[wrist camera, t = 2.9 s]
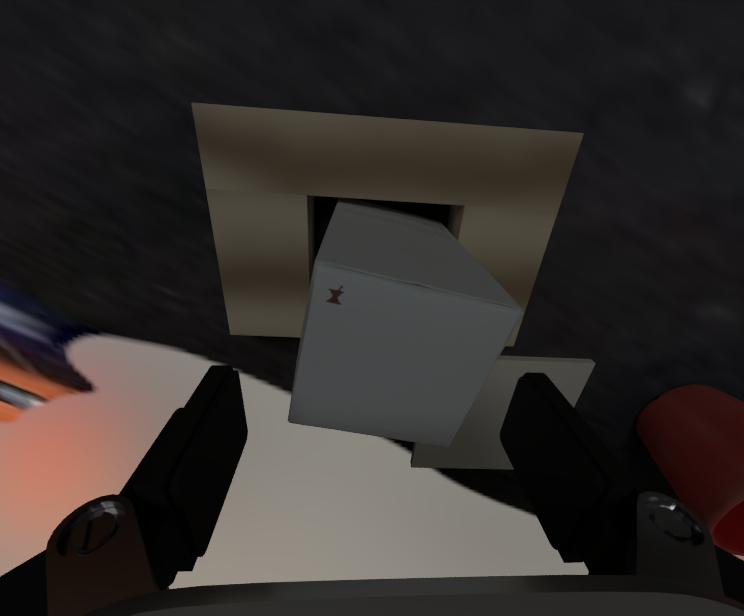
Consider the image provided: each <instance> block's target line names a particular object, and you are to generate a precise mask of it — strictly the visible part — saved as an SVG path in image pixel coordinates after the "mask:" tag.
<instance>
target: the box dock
mask: <svg viewBox="0 0 744 616" xmlns="http://www.w3.org/2000/svg"><path fill="white" fill-rule="evenodd" d="M192 109H193V115H194V121H195V127H196V133H197V139H198V145H199V151H200V157H201V163H202V169H203V175H204V181H205V187H206V192H207V198H208V204H209V210H210V216H211V222H212V228H213V234H214V240H215V246H216V252H217V258H218V264H219V270H220V276H221V282H222V288H223V293H224V299H225V305H226V311H227V317H228V323H229V329H230V335H253V336H277V337H301V333H302V327H303V321H304V316H305V311H306V305H307V299H308V294H309V289H310V283H311V278H312V273H313V267H314V263H315V209H314V196H325V197H341V198H356V199H372V200H387V201H403V202H418V203H434V204H449V205H451V207H450V212H449V218H448V224H447V230H448V231H449V232H450V233H451V234H452V235H453V236H454V237H455V238H456V239H457V240H458V241H459V242H460V244H461V245H462V246H463V247H464V248H465V249H466V250H467V251H468V252H469V253H470V254H471V255H472V256H473V257H474V258H475V259H476V260H477V261H478V262H479V263H480V264H481V265H482V266H483V267H484V268H485V270H486V271H487V272H488V273H489V274H490V275H491V276H492V277H493V278H494V279H495V280H496V281H497V282H498V283H499V284H500V285H501V286H502V287H503V288H504V289H505V290H506V292H507V293H508V294H509V295H510V296H511V297H512V298H513V299H514V300H515V301H516V302H517V304H518V305H519V306H520V307H521V308H522V309H523V310H524V312H525V309H526V306H527V303H528V300H529V297H530V294H531V291H532V288H533V285H534V282H535V279H536V276H537V273H538V270H539V267H540V264H541V261H542V258H543V255H544V252H545V249H546V246H547V243H548V240H549V237H550V234H551V231H552V228H553V225H554V222H555V219H556V216H557V213H558V210H559V206H560V203H561V200H562V197H563V194H564V191H565V188H566V185H567V182H568V179H569V176H570V173H571V170H572V167H573V164H574V161H575V158H576V155H577V152H578V149H579V146H580V143H581V140H582V137H583V134H584V133H573V132H560V131H547V130H535V129H522V128H509V127H496V126H483V125H471V124H458V123H445V122H432V121H419V120H407V119H394V118H381V117H368V116H355V115H343V114H330V113H317V112H304V111H291V110H279V109H266V108H253V107H240V106H227V105H214V104H202V103H192ZM523 316H524V314H523ZM523 316H522V318H521V320H520V321H519V323H518V324H517V326H516V328H515V330H514V331H513V333H512V335H511V337H510V338H509V340H508V342H507V344H506V345H505V346H514V343H515V340H516V337H517V334H518V331H519V328H520V325H521V322H522V319H523Z"/></svg>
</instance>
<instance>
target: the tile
mask: <svg viewBox="0 0 744 616" xmlns="http://www.w3.org/2000/svg"><path fill="white" fill-rule="evenodd" d="M594 365H595V363H594V362H593V361H592V360H591V359H574V358H549V357H523V356H499V357H498V359H497V361H496V362H495V364H494V366H493V367H492V369H491V371H490V372H489V374H488V376H487V378H486V379H485V381H484V383H483V385H482V387H481V389H480V391H479V393H478V394H477V396H476V398H475V400H474V402H473V404H472V405H471V407H470V409H469V411H468V413H467V414H466V416H465V418H464V420H463V422H462V424H461V425H460V427H459V429H458V431H457V433H456V434H455V436H454V438H453V440H452V442H451V443H450V445H449V447H440V446H434V445H428V444H422V443H416V442H414V446H413V451H412V457H411V467H420V468H422V467H423V468H468V469H513V467H512V464H511V462H510V460H509V458H508V456H507V454H506V452H505V450H504V448H503V446H502V444H501V441H500V430H501V427H502V424H503V421H504V419H505V416H506V413H507V410H508V407H509V404H510V401H511V398H512V396H513V393H514V390H515V387H516V384H517V381H518V379H519V378H520V377H523V375H524V374H525V373H527V372H531V373H545V374H546V375H547V376H548V377H549V379H550V380H551V381H552V382H553V383H554V385H555V386H556V387H557V388H558V389H559V391H560V392H561V393H562V394H563V395H564V397H565V398H566V399H567V400H568V401H569V403H570V404H571V405H572V406H573V408H574V406H575V404H576V402H577V400H578V398H579V396H580V394H581V392H582V390H583V388H584V386H585V384H586V382H587V380H588V378H589V376H590V374H591V371H592V369H593V367H594Z"/></svg>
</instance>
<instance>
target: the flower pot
mask: <svg viewBox="0 0 744 616" xmlns="http://www.w3.org/2000/svg"><path fill="white" fill-rule="evenodd" d="M636 430H637V433H638V435H639V436H640V438H641V440H642V441H643V443H644V444H645V446H646V448H647V449H648V451H649V452H650V454H651V456H652V457H653V459H654V460H655V462H656V464H657V465H658V467H659V468H660V470H661V471H662V473H663V475H664V476H665V478H666V479H667V481H668V482H669V484H670V485H671V487H672V488H673V490H674V491H675V493H676V494H677V496H678V497H679V499H680V500H681V502H682V503H683V505H684V506H686V507H687V508H688V509H690V510H691V511H692V512H693V513H694V514H695V515H696V516H697V517H698V518H699V519H700V520H701V521H702V522H703V523H704V524H705V526H706V527H707V529H708V530H709V531H710V534H711V536H712V539H713V542H714V544H715V545H717V546H718V547H720V548H722V549H724V550H725V551H727V552H729V553H731V554H734V555H741V556H744V402H743V401H740V400H738V399H736V398H734V397H732V396H730V395H728V394H726V393H724V392H722V391H719V390H717V389H715V388H713V387H711V386H707V385H701V384H691V385H684V386H680V387H677V388H673V389H671V390H668V391H666V392H664V393H662V394H661V395H660V396H659V397H658V398H657V399H654V400H652V401H650V402H649V403H648V404H647V405H646V406H645V407H644V408H643V409H642V410H641V412H640V413H639V415H638V417H637V420H636Z"/></svg>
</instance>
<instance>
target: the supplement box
mask: <svg viewBox="0 0 744 616" xmlns="http://www.w3.org/2000/svg"><path fill="white" fill-rule="evenodd" d="M523 314H524V310H523V309H522V308H521V307H520V306H519V305H518V304H517V302H516V301H515V300H514V299H513V298H512V297H511V296H510V295H509V294H508V293H507V292H506V290H505V289H504V288H503V287H502V286H501V285H500V284H499V283H498V282H497V281H496V280H495V279H494V278H493V277H492V276H491V275H490V274H489V273H488V272H487V271H486V270H485V268H484V267H483V266H482V265H481V264H480V263H479V262H478V261H477V260H476V259H475V258H474V257H473V256H472V255H471V254H470V253H469V252H468V251H467V250H466V249H465V248H464V247H463V246H462V245H461V244H460V242H459V241H458V240H457V239H456V238H455V237H454V236H453V235H452V234H451V233H450V232H449V231H448V230H447V229H446V228H445V226H444V225H443V224H442V223H441V222H439V221H435V220H432V219H429V218H425V217H422V216H418V215H415V214H411V213H407V212H404V211H400V210H396V209H392V208H388V207H385V206H381V205H377V204H373V203H370V202H366V201H362V200H358V199H354V198H341V197H339V199H338V202H337V205H336V207H335V210H334V212H333V215H332V218H331V220H330V223H329V225H328V228H327V231H326V233H325V236H324V239H323V241H322V244H321V246H320V249H319V252H318V254H317V256H316V259H315V263H314V267H313V273H312V278H311V283H310V289H309V294H308V299H307V305H306V311H305V316H304V321H303V327H302V333H301V339H300V345H299V351H298V357H297V363H296V370H295V377H294V383H293V390H292V397H291V403H290V410H289V416H288V421H289V422H290V423H295V424H301V425H308V426H315V427H322V428H328V429H336V430H341V431H348V432H354V433H360V434H366V435H373V436H379V437H385V438H391V439H398V440H404V441H410V442H416V443H422V444H428V445H434V446H440V447H449V445H450V443H451V442H452V440H453V438H454V436H455V434H456V433H457V431H458V429H459V427H460V425H461V424H462V422H463V420H464V418H465V416H466V414H467V413H468V411H469V409H470V407H471V405H472V404H473V402H474V400H475V398H476V396H477V394H478V393H479V391H480V389H481V387H482V385H483V383H484V381H485V379H486V378H487V376H488V374H489V372H490V371H491V369H492V367H493V366H494V364H495V362H496V361H497V359H498V357H499V356H500V354H501V352H502V350H503V349H504V347H505V345H506V344H507V342H508V340H509V338H510V337H511V335H512V333H513V331H514V330H515V328H516V326H517V324H518V323H519V321H520V320H521V318H522V316H523Z"/></svg>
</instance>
